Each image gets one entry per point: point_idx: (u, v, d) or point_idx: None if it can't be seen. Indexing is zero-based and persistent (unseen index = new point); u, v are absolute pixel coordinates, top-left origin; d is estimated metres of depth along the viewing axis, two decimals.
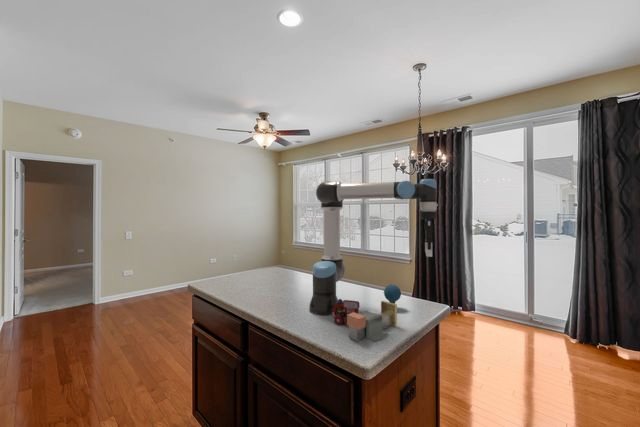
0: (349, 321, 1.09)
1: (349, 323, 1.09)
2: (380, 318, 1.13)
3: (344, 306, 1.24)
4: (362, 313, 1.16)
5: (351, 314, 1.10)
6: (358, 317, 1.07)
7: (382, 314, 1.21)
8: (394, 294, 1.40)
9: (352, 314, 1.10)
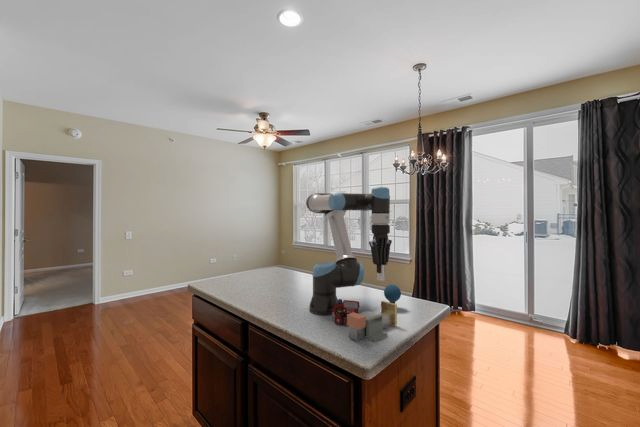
0: (349, 321, 1.09)
1: (349, 323, 1.09)
2: (380, 318, 1.13)
3: (344, 306, 1.24)
4: (362, 313, 1.16)
5: (351, 314, 1.10)
6: (358, 317, 1.07)
7: (382, 314, 1.21)
8: (394, 294, 1.40)
9: (352, 314, 1.10)
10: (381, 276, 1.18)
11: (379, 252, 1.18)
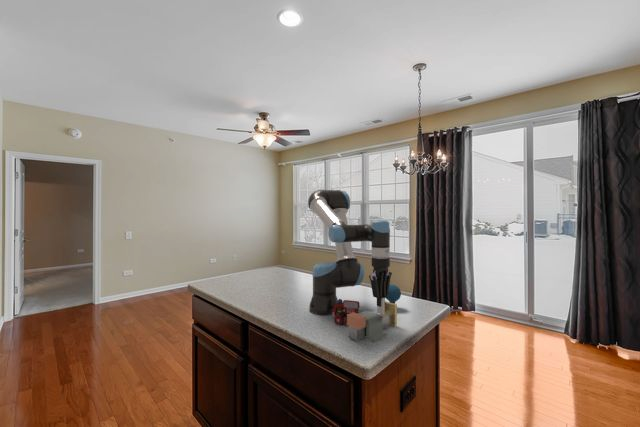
0: (349, 321, 1.09)
1: (349, 323, 1.09)
2: (380, 318, 1.13)
3: (344, 306, 1.24)
4: (362, 313, 1.16)
5: (351, 314, 1.10)
6: (358, 317, 1.07)
7: None
8: (394, 294, 1.40)
9: (352, 314, 1.10)
10: (381, 309, 1.18)
11: (379, 286, 1.18)
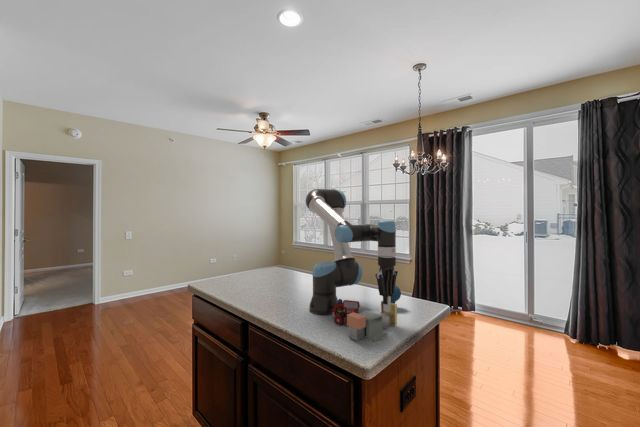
0: (349, 321, 1.09)
1: (349, 323, 1.09)
2: (380, 318, 1.13)
3: (344, 306, 1.24)
4: (362, 313, 1.16)
5: (351, 314, 1.10)
6: (358, 317, 1.07)
7: (382, 314, 1.21)
8: (394, 294, 1.40)
9: (352, 314, 1.10)
10: (387, 307, 1.21)
11: (385, 284, 1.20)
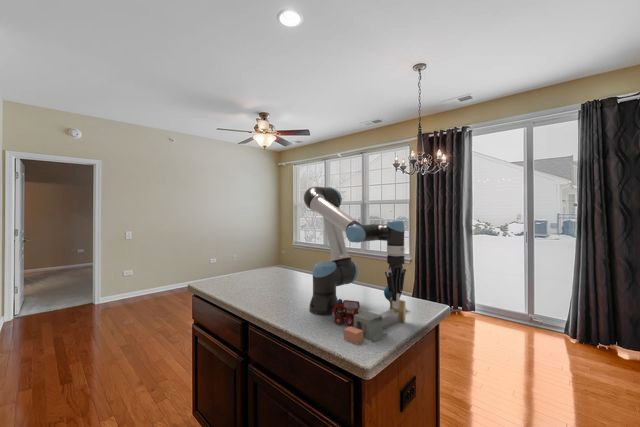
0: None
1: None
2: (380, 318, 1.13)
3: (344, 306, 1.24)
4: (362, 313, 1.16)
5: (346, 336, 1.08)
6: (355, 341, 1.05)
7: (391, 310, 1.26)
8: None
9: (346, 336, 1.08)
10: (396, 304, 1.25)
11: (394, 281, 1.25)
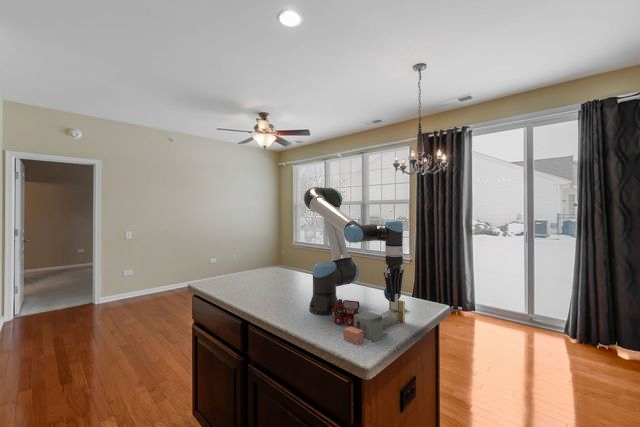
0: None
1: None
2: (380, 318, 1.13)
3: (344, 306, 1.24)
4: (362, 313, 1.16)
5: (346, 336, 1.08)
6: (355, 341, 1.05)
7: (390, 311, 1.25)
8: None
9: (346, 336, 1.08)
10: (394, 305, 1.25)
11: (393, 282, 1.24)
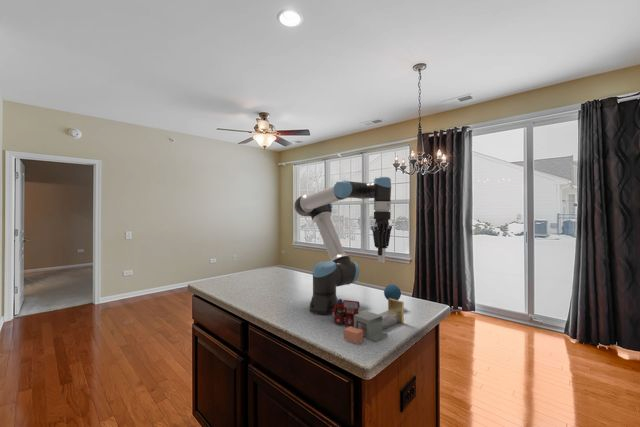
0: None
1: None
2: (380, 318, 1.13)
3: (344, 306, 1.24)
4: (362, 313, 1.16)
5: (346, 336, 1.08)
6: (355, 341, 1.05)
7: (389, 311, 1.25)
8: (394, 294, 1.40)
9: (346, 336, 1.08)
10: (382, 258, 1.29)
11: (380, 236, 1.28)
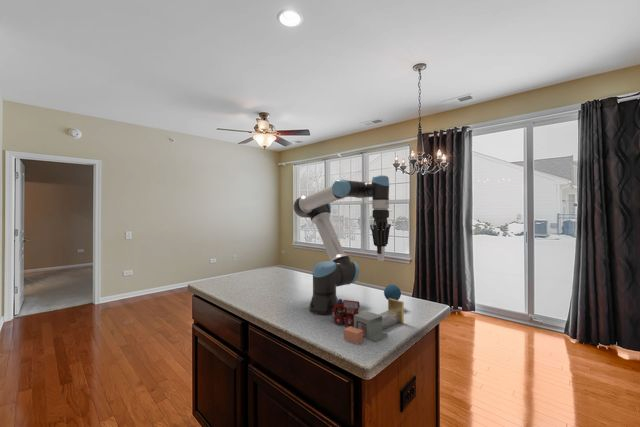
0: None
1: None
2: (380, 318, 1.13)
3: (344, 306, 1.24)
4: (362, 313, 1.16)
5: (346, 336, 1.08)
6: (355, 341, 1.05)
7: (389, 311, 1.25)
8: (394, 294, 1.40)
9: (346, 336, 1.08)
10: (381, 256, 1.30)
11: (379, 235, 1.29)
